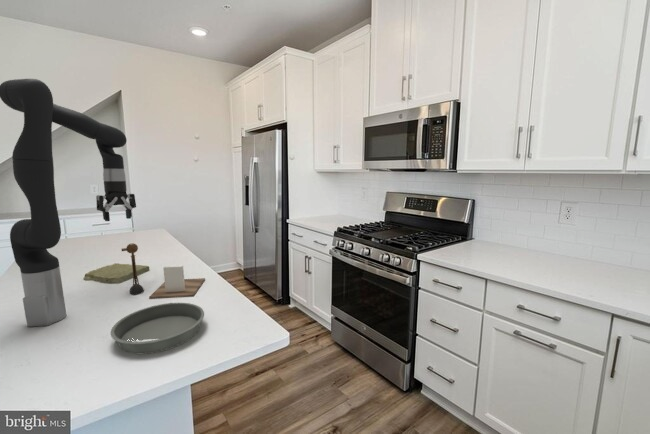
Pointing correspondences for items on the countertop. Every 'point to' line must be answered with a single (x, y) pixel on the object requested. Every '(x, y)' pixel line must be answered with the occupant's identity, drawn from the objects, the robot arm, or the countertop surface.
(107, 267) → the olive green flat slab
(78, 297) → the countertop surface
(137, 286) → the wooden tabletop sculpture
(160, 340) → the cake pan
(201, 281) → the walnut board
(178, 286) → the glazed tile
